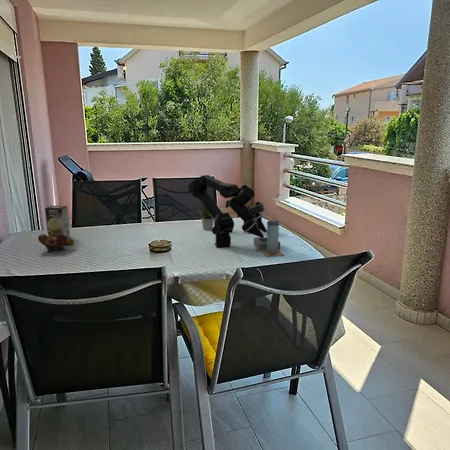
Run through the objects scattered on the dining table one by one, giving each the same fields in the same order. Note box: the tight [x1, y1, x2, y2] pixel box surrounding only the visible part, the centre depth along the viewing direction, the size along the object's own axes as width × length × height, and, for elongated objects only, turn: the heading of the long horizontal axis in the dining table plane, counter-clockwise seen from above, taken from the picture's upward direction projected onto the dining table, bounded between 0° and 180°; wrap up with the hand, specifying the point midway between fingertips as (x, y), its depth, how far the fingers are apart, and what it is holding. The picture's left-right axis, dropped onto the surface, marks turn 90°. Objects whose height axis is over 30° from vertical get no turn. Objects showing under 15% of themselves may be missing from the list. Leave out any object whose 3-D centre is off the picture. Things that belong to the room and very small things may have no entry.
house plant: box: [195, 201, 219, 231], centre depth 214 cm, size 14×14×16 cm
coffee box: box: [44, 205, 71, 238], centre depth 199 cm, size 9×6×16 cm
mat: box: [261, 249, 285, 258], centre depth 174 cm, size 8×8×1 cm
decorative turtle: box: [38, 233, 75, 252], centre depth 179 cm, size 10×15×8 cm, turn 111°
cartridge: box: [266, 219, 280, 254], centre depth 172 cm, size 5×5×14 cm
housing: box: [253, 236, 281, 252], centre depth 183 cm, size 10×10×4 cm
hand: (264, 234), depth 173 cm, fingers open, 9 cm apart
